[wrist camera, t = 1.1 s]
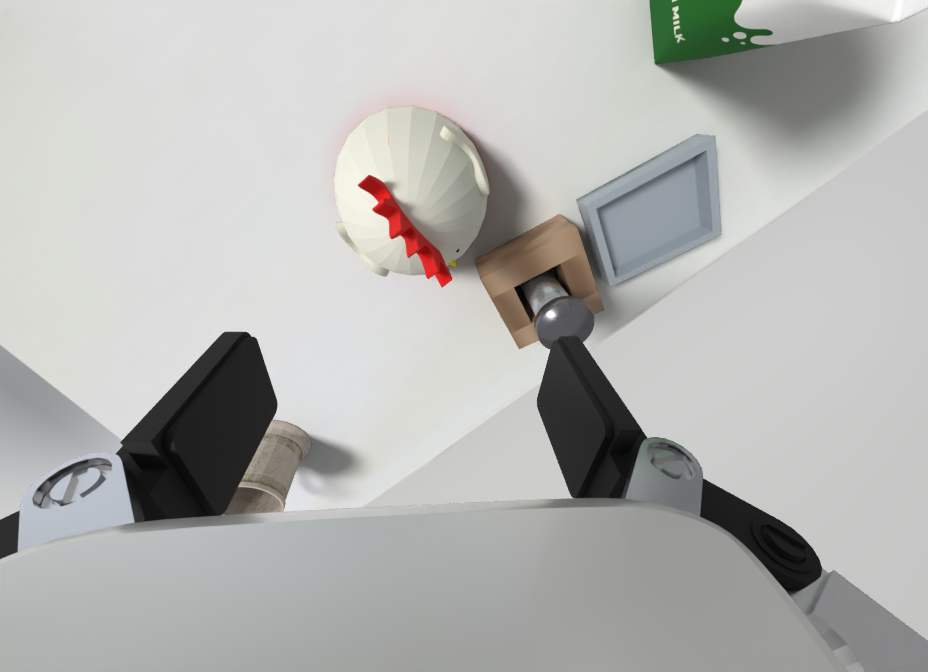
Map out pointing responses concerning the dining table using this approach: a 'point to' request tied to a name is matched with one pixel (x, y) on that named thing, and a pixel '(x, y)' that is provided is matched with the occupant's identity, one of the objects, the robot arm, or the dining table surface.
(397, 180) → the kitchen timer
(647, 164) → the tray
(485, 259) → the socket block
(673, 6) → the milk carton
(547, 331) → the pin
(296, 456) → the mug
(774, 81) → the dining table surface
